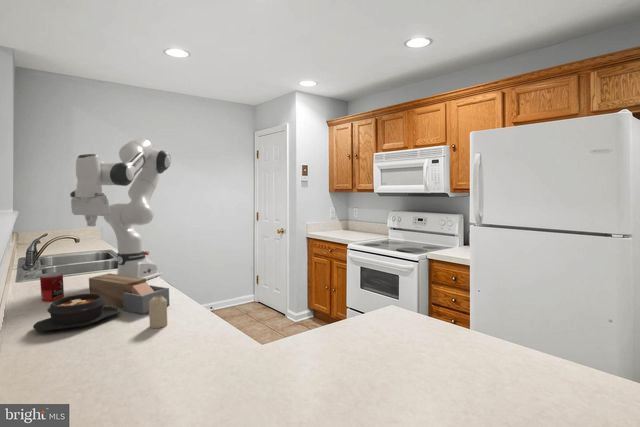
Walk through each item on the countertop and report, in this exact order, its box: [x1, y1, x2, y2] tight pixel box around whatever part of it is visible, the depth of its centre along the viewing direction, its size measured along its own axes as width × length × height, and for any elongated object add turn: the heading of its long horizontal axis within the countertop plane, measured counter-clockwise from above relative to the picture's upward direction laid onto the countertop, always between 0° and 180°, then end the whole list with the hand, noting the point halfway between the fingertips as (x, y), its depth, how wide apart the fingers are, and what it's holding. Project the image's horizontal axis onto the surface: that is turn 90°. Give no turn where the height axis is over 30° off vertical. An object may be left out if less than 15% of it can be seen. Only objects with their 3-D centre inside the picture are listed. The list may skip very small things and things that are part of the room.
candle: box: [148, 296, 168, 329], centre depth 125 cm, size 6×6×10 cm
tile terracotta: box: [130, 281, 154, 295], centre depth 144 cm, size 6×6×2 cm
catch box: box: [123, 284, 170, 316], centre depth 143 cm, size 12×11×7 cm
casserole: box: [32, 293, 119, 332], centre depth 128 cm, size 25×19×8 cm
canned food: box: [39, 271, 65, 303], centre depth 156 cm, size 8×8×11 cm
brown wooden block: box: [88, 273, 147, 310], centre depth 151 cm, size 9×23×10 cm, turn 64°
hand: (91, 226), depth 154 cm, fingers closed
